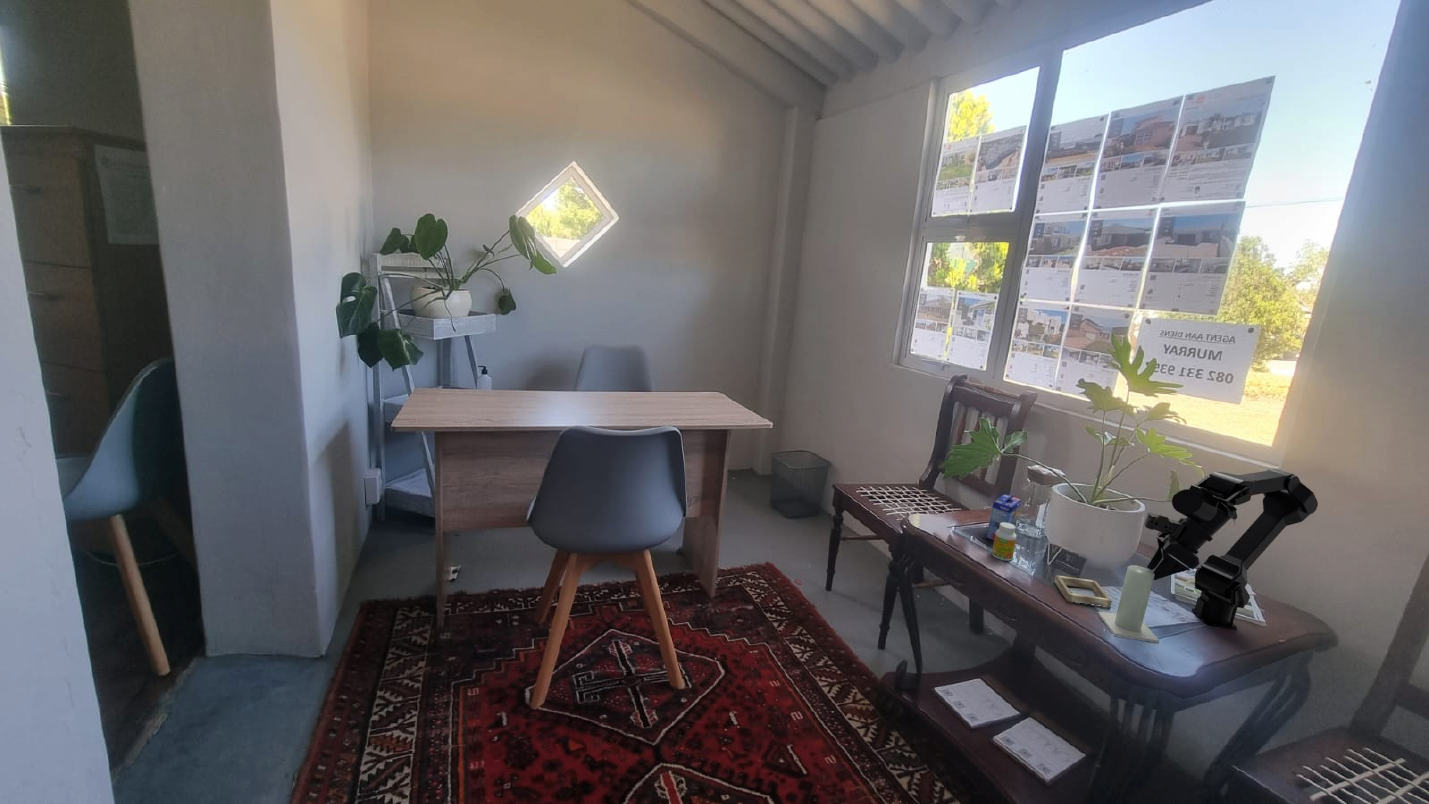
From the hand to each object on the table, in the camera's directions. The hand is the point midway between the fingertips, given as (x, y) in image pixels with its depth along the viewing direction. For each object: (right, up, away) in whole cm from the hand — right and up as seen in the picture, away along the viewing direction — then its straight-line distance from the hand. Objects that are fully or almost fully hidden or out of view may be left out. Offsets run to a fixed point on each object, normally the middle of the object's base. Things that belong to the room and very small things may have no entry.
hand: (1150, 573), depth 136 cm
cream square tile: (-6, -12, -1) cm, 14 cm away
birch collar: (-9, -9, +12) cm, 17 cm away
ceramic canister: (-6, -12, -1) cm, 13 cm away
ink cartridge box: (-14, -2, +43) cm, 45 cm away
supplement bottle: (-20, -4, +30) cm, 37 cm away
